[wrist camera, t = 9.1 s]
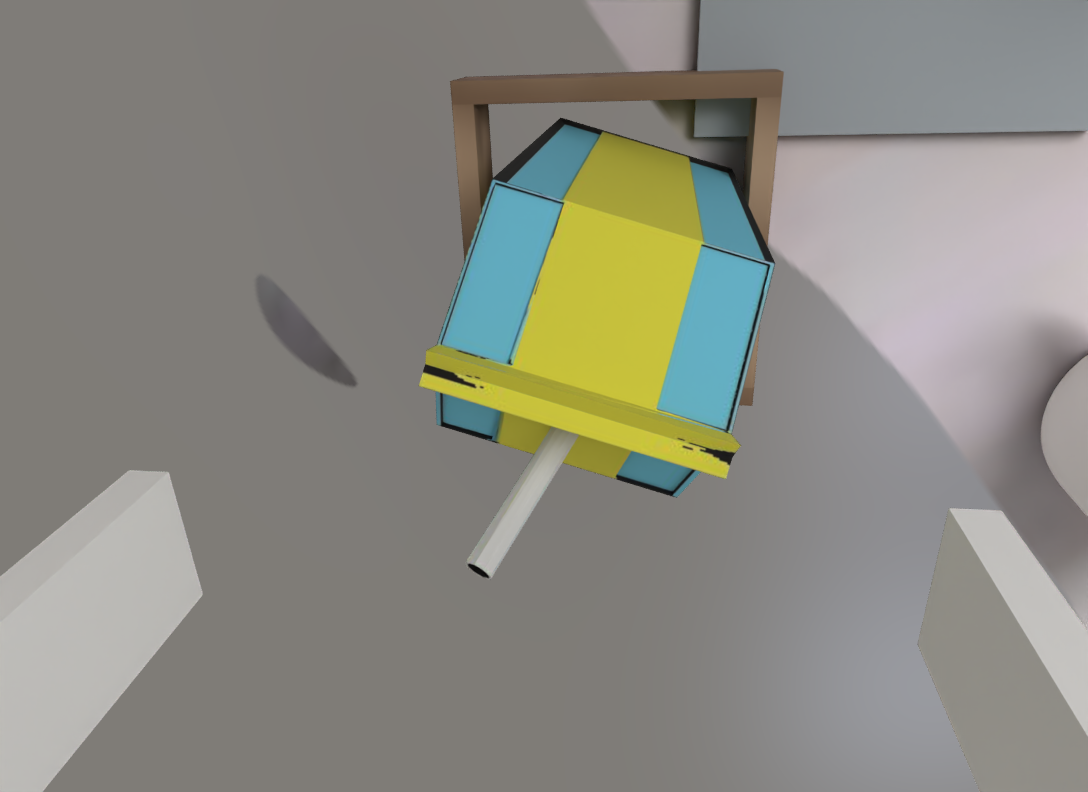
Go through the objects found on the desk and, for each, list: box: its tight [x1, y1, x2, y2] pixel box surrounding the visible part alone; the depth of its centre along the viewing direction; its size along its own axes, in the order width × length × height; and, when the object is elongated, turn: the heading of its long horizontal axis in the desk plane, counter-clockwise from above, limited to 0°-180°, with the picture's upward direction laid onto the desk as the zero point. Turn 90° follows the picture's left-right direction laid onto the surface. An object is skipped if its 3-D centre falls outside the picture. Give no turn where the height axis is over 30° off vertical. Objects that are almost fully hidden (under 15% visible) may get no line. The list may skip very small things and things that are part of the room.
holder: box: [450, 69, 784, 406], centre depth 30 cm, size 13×12×2 cm
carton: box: [419, 118, 775, 580], centre depth 24 cm, size 7×8×18 cm
